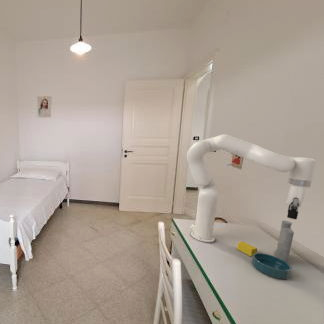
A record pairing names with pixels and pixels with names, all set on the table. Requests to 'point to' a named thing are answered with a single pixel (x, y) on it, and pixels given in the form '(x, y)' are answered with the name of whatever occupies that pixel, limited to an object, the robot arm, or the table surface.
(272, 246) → the table surface
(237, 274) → the table surface
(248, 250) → the sponge
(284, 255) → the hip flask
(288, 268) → the bowl
